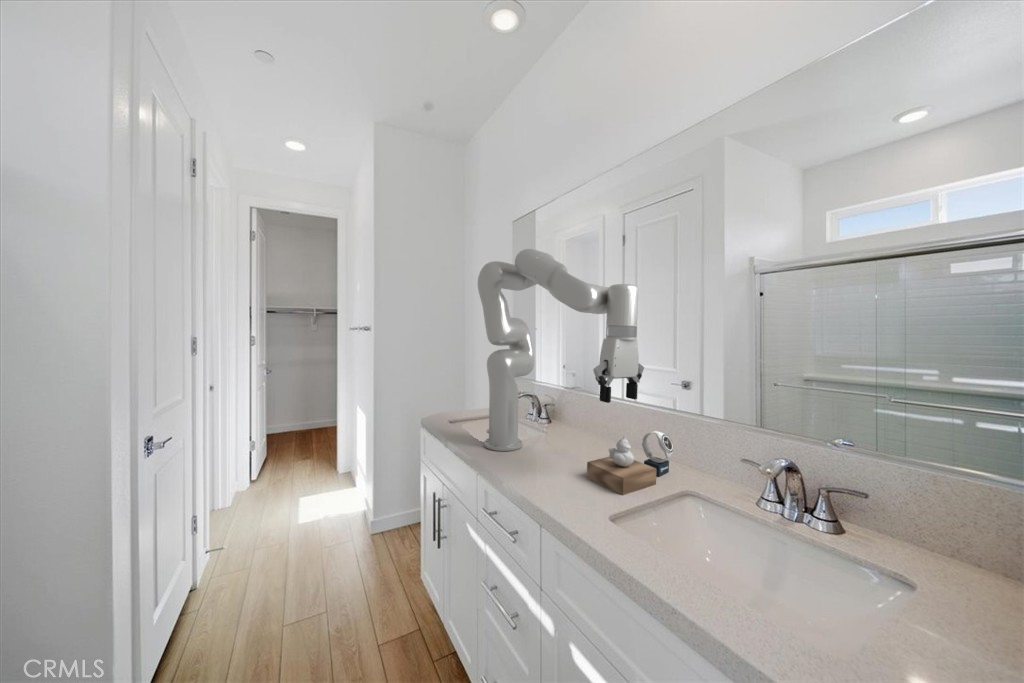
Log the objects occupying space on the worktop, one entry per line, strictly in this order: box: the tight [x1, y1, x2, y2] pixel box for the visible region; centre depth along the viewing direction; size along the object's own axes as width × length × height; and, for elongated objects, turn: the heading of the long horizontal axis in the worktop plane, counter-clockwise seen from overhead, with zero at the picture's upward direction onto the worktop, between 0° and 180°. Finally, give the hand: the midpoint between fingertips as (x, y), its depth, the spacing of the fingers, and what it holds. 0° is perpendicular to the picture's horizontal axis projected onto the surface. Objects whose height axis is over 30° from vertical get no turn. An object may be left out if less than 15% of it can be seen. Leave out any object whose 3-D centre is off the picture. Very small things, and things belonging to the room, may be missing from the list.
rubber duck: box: [608, 435, 635, 467], centre depth 93 cm, size 5×7×8 cm
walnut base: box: [586, 456, 657, 496], centre depth 93 cm, size 12×12×4 cm
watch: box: [641, 430, 675, 478], centre depth 99 cm, size 6×8×11 cm
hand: (618, 400), depth 93 cm, fingers open, 9 cm apart
